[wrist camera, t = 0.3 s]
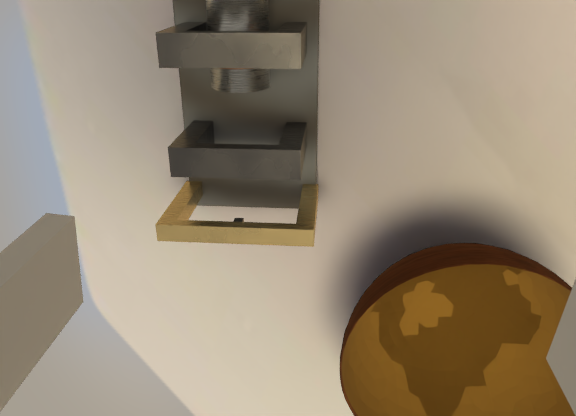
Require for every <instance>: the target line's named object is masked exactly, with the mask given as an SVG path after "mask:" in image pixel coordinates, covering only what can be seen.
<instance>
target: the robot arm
mask: <svg viewBox="0 0 576 416" xmlns="http://www.w3.org/2000/svg"><path fill="white" fill-rule="evenodd" d="M82 303H83V294H82V285H81V275H80V265H79V256H78V246H77V236H76V227H75V217H74V216H67V215H57V214H50V213H46V214H45V215H44V216H42V217H41V218H40V219H39V220H38V221H37V222H36V223H34V224H33V225H32V226H31V227H30V228H29V229H27V230H26V231H25V232H24V233H23V234H22V235H20V236H19V237H18V238H17V239H16V240H15V241H14V242H12V243H11V244H10V245H9V246H8V247H6V248H5V249H4V250H3V251H2V252H1V253H0V412H1V410H2V409H3V408H4V406H5V405H6V404H7V402H8V401H9V400H10V398H11V397H12V396H13V394H14V393H15V392H16V390H17V389H18V388H19V386H20V385H21V384H22V382H23V381H24V380H25V378H26V377H27V376H28V374H29V373H30V372H31V370H32V369H33V368H34V367H35V365H36V364H37V363H38V361H39V360H40V359H41V357H42V356H43V355H44V353H45V352H46V351H47V349H48V348H49V347H50V345H51V344H52V343H53V341H54V340H55V339H56V337H57V336H58V335H59V333H60V332H61V331H62V329H63V328H64V327H65V325H66V324H67V323H68V321H69V320H70V319H71V317H72V316H73V315H74V313H75V312H76V311H77V309H78V308H79V307H80V305H81V304H82ZM546 360H547V362H548V364H549V366H550V367H551V369H552V371H553V373H554V375H555V377H556V379H557V381H558V383H559V385H560V387H561V389H562V391H563V393H564V395H565V396H566V398H567V400H568V402H569V404H570V406H571V408H572V410H573V412H574V414H575V416H576V279H575V282H574V285H573V287H572V290H571V293H570V295H569V298H568V301H567V303H566V306H565V309H564V311H563V314H562V317H561V319H560V322H559V325H558V327H557V330H556V333H555V336H554V338H553V341H552V344H551V346H550V349H549V352H548V354H547V357H546Z"/></svg>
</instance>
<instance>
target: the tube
mask: <svg viewBox="0 0 576 416" xmlns="http://www.w3.org/2000/svg"><path fill="white" fill-rule="evenodd" d="M206 12H207V27H208V31H269V8H268V0H206ZM210 72H211V87H212V89H213V90H216V91H220V92H229V93H246V92H256V91H262V90H265V89H268V88H269V87H270V69H263V68H210Z"/></svg>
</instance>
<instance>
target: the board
mask: <svg viewBox="0 0 576 416" xmlns="http://www.w3.org/2000/svg"><path fill="white" fill-rule="evenodd" d="M268 8H269V31H277V30H278V29H279V28H280V27H281V26H282V25H283V24H284V23H285V22H307V54H306V57H305V59H304V62H303V65H302V67H301V69H270V87H269V88H268V89H265V90H262V91H256V92H246V93H229V92H220V91H216V90H213V89H212V87H211V72H210V68H179V75H180V86H181V96H182V107H183V118H184V129H186V128H187V127H188V126H189V125H190V124H191V123H192V121H193V120H196V121H213V126H214V141H215V144H261V145H279V142H280V139H281V136H282V133H283V130H284V127H285V125H286V122H307V141H306V153H305V159H304V164H303V170H302V175H301V180H280V179H241V178H203V177H189V181H202V191H203V196H202V197H201V199H200V201H199V203H198V204H197V205H202V206H235V207H268V208H299V204H300V198H301V193H302V187H303V184H316V172H317V109H318V47H319V0H268ZM173 9H174V20H175V26H176V25H178V24H181V23H184V22H206V23H207V12H206V0H173ZM207 31H208V27H207Z"/></svg>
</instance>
